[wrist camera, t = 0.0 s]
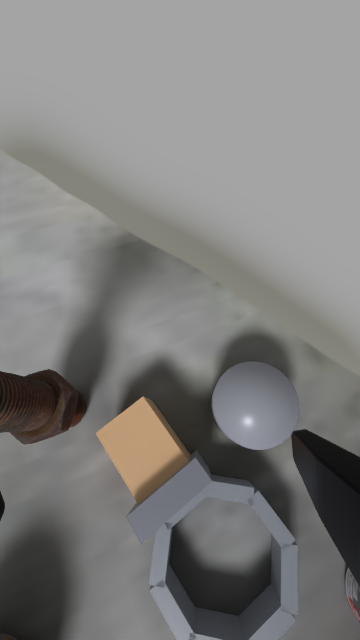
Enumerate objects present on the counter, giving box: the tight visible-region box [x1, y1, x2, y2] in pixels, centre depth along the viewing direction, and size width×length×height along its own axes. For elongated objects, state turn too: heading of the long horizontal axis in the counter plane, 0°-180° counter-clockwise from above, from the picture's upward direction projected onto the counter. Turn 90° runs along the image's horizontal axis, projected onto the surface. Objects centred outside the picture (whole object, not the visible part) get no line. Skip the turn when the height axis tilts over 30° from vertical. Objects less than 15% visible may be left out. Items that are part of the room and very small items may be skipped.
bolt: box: [0, 369, 85, 444], centre depth 17 cm, size 6×5×15 cm
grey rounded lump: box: [211, 361, 299, 450], centre depth 21 cm, size 6×6×4 cm
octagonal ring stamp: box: [96, 396, 298, 640], centre depth 18 cm, size 16×9×5 cm, turn 38°
